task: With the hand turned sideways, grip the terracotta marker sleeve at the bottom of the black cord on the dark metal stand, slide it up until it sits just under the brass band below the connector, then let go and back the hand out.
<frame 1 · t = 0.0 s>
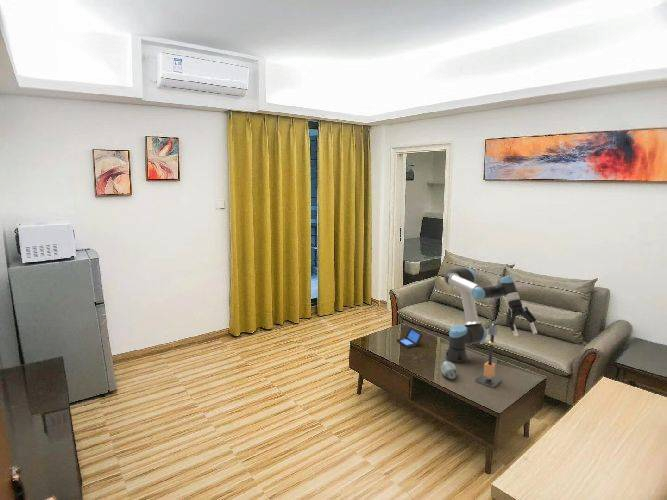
hand: (526, 334, 244), 36 cm above the table, fingers open, 13 cm apart
spool: (448, 375, 268), on the table
sleeve: (489, 369, 259), point 8 cm above the table, slide at 0.0 cm
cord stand: (488, 381, 261), on the table
handheld game console: (408, 343, 317), on the table
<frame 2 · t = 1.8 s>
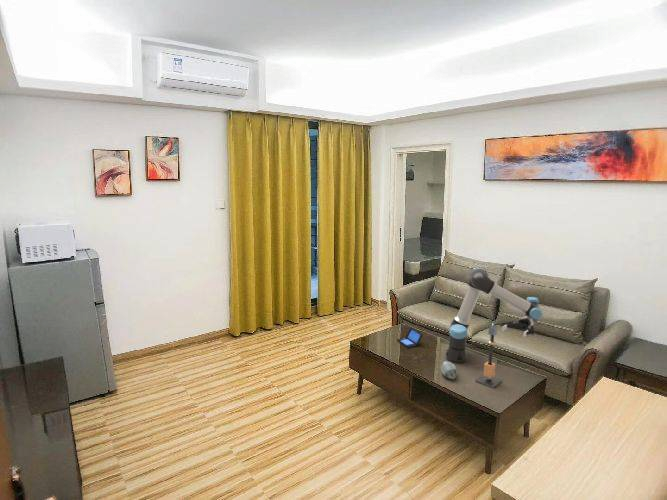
hand: (512, 331, 263), 30 cm above the table, fingers open, 13 cm apart
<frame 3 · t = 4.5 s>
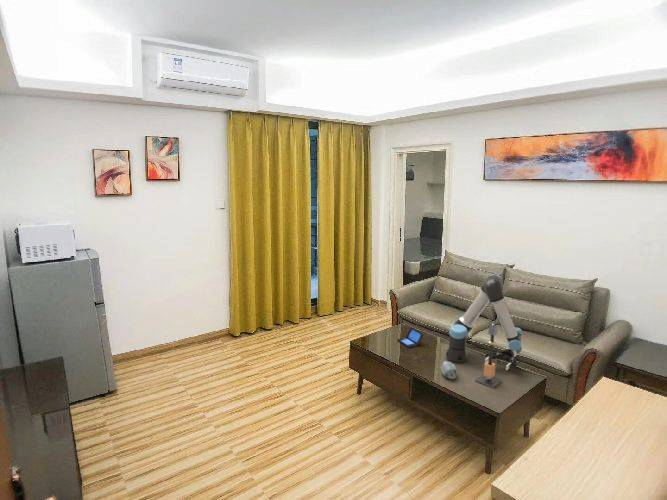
hand: (495, 364, 265), 8 cm above the table, fingers open, 13 cm apart
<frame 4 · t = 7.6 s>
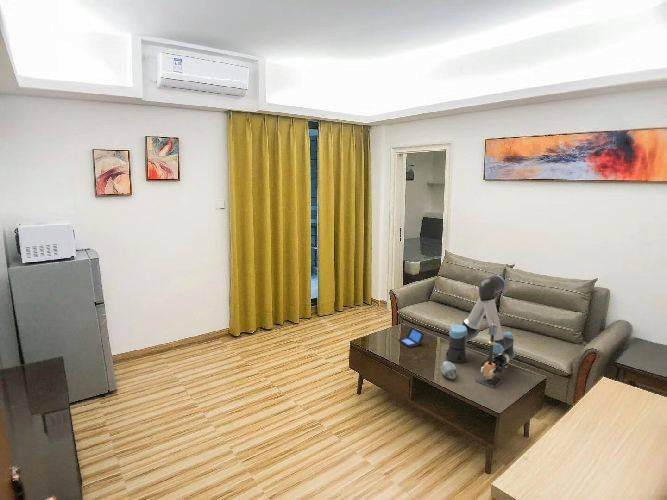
hand: (485, 371, 255), 8 cm above the table, fingers closed on sleeve, 5 cm apart
sleeve: (489, 369, 259), point 8 cm above the table, slide at 0.0 cm, touching gripper
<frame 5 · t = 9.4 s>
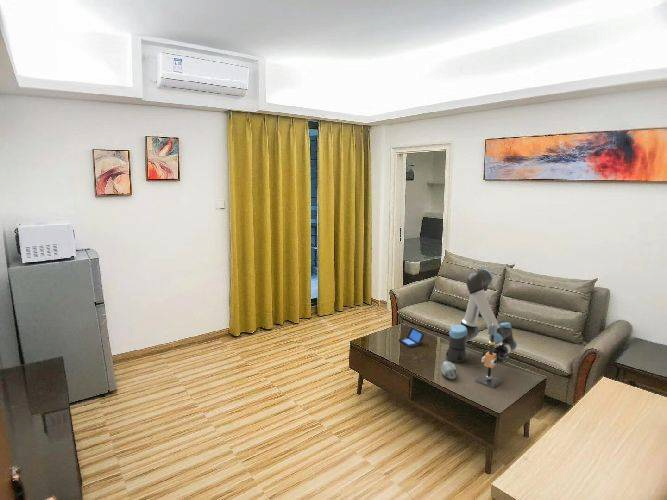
hand: (486, 361, 254), 15 cm above the table, fingers closed on sleeve, 5 cm apart
sleeve: (490, 359, 258), point 15 cm above the table, slide at 6.8 cm, touching gripper
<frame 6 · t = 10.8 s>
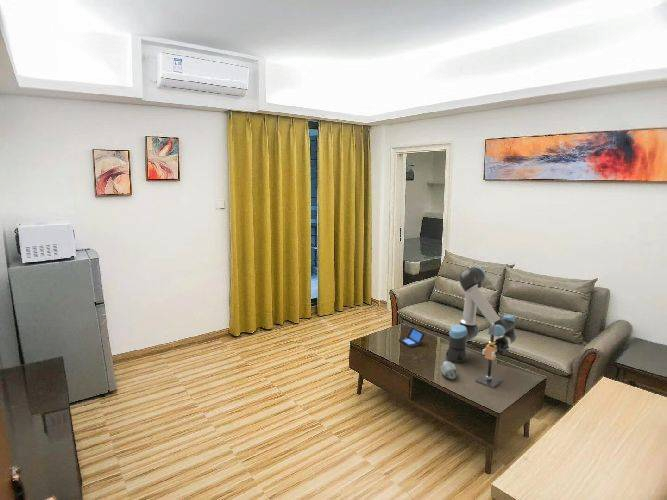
hand: (487, 353, 253), 21 cm above the table, fingers closed on sleeve, 5 cm apart
sleeve: (490, 351, 257), point 20 cm above the table, slide at 12.2 cm, touching gripper
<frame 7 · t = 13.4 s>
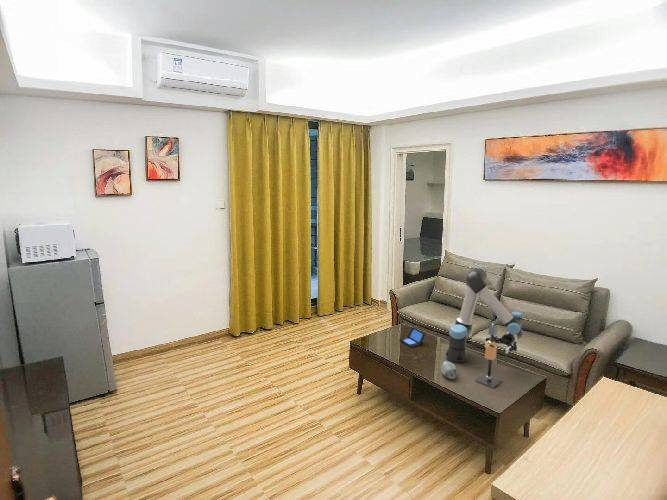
hand: (495, 348, 261), 21 cm above the table, fingers open, 13 cm apart
sleeve: (490, 351, 257), point 20 cm above the table, slide at 12.1 cm
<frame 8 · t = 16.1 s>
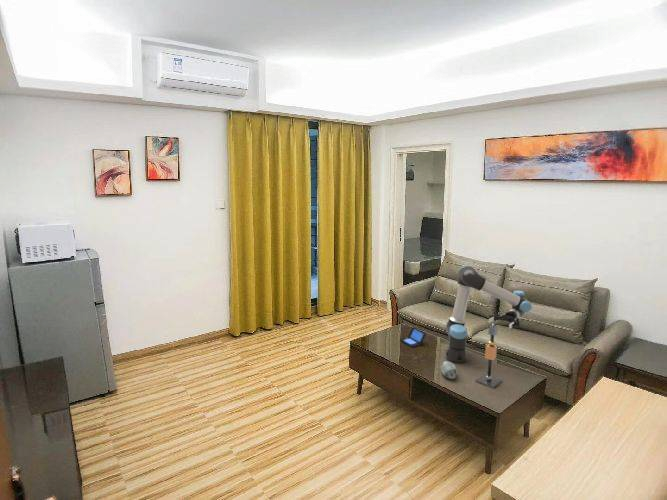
hand: (499, 323, 271), 32 cm above the table, fingers open, 13 cm apart
at the end: sleeve slide at 12.1 cm; the gripper is holding nothing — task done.
